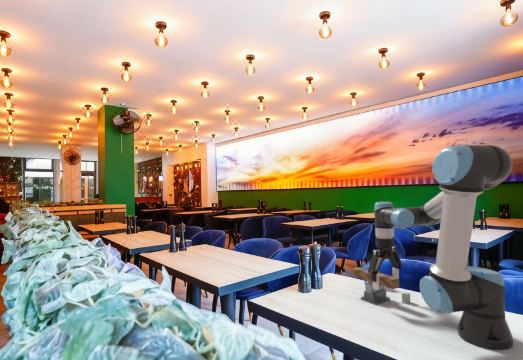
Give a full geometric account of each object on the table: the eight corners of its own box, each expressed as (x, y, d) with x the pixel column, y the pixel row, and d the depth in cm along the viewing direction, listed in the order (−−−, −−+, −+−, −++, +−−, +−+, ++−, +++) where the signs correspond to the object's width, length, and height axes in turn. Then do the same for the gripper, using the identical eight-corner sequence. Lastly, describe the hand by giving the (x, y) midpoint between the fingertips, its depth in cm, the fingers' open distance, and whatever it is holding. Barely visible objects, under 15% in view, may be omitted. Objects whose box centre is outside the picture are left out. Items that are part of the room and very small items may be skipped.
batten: (399, 287, 136) (398, 278, 136) (393, 289, 134) (393, 279, 134) (358, 275, 155) (358, 267, 155) (352, 277, 153) (352, 268, 153)
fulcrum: (390, 299, 143) (389, 282, 144) (375, 304, 138) (374, 286, 138) (375, 294, 150) (374, 277, 150) (360, 299, 145) (360, 281, 145)
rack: (410, 302, 140) (410, 293, 140) (406, 303, 138) (405, 294, 138) (369, 288, 159) (369, 280, 159) (365, 290, 157) (365, 282, 157)
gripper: (394, 233, 149) (396, 278, 149) (358, 239, 136) (359, 289, 136) (409, 235, 143) (411, 282, 143) (372, 242, 130) (374, 294, 129)
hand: (386, 286), depth 139 cm, fingers open, 13 cm apart
